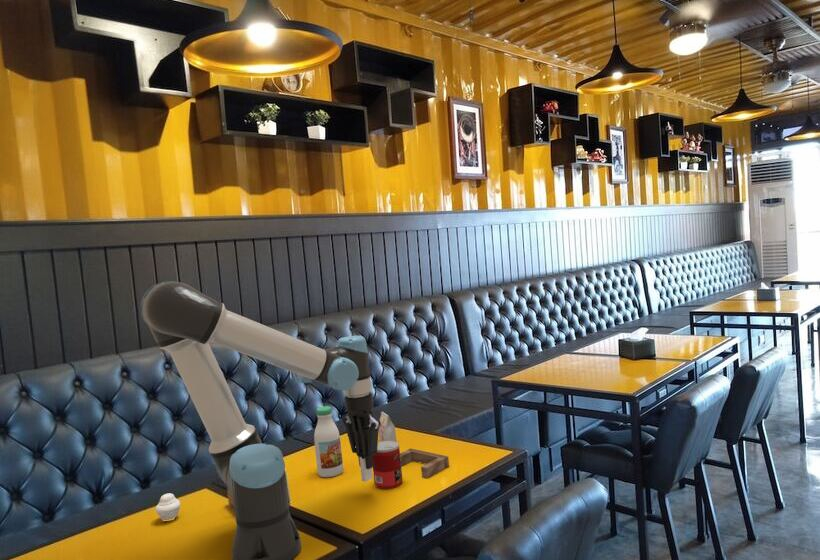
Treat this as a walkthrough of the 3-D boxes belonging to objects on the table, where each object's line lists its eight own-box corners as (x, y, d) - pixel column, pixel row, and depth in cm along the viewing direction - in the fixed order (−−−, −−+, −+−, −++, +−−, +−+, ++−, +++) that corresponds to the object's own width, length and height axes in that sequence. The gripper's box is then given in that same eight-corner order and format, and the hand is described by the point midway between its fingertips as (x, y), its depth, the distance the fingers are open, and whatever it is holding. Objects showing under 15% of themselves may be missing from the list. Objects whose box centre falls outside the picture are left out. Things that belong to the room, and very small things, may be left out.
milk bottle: (313, 477, 175) (306, 411, 174) (325, 467, 182) (318, 404, 181) (336, 478, 173) (329, 411, 171) (347, 468, 180) (341, 404, 179)
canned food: (402, 488, 161) (398, 448, 161) (373, 490, 162) (369, 451, 161) (403, 477, 169) (399, 439, 168) (375, 479, 169) (371, 442, 169)
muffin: (177, 511, 160) (173, 486, 160) (185, 518, 156) (182, 492, 155) (153, 520, 156) (150, 494, 156) (161, 527, 152) (158, 500, 151)
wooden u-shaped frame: (427, 478, 166) (426, 468, 166) (389, 468, 176) (388, 459, 176) (449, 466, 173) (448, 456, 173) (411, 457, 184) (410, 448, 183)
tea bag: (389, 438, 204) (386, 410, 203) (396, 444, 198) (393, 415, 197) (379, 441, 203) (376, 412, 202) (386, 446, 196) (383, 417, 196)
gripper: (385, 392, 156) (394, 479, 158) (352, 388, 165) (361, 470, 166) (364, 400, 151) (374, 489, 152) (331, 395, 159) (341, 479, 161)
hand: (367, 479), depth 159 cm, fingers closed
